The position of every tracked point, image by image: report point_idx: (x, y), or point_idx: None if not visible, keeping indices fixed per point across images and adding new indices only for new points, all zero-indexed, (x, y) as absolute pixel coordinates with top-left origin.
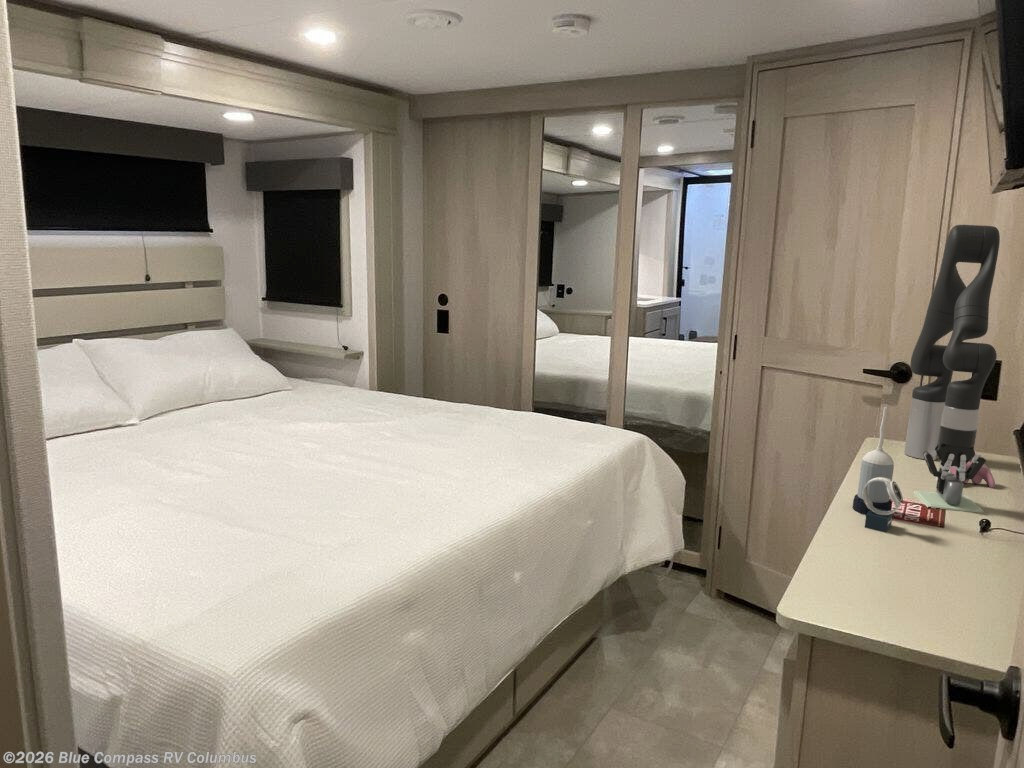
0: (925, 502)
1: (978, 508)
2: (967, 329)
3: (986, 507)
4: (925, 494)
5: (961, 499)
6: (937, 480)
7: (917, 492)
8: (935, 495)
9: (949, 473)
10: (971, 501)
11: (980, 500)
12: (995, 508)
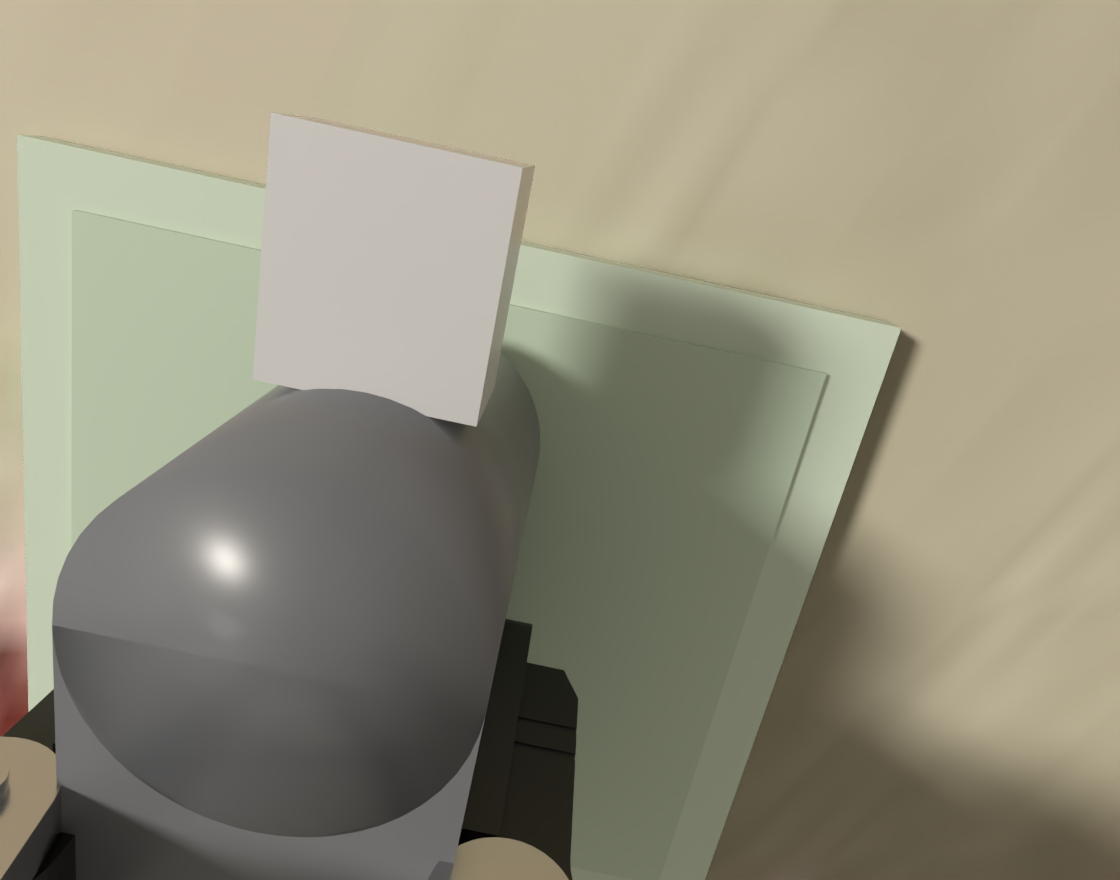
0: (35, 679)
1: (677, 855)
2: None
3: (886, 731)
4: (151, 360)
5: (653, 561)
6: (32, 715)
7: (55, 242)
8: None
9: (375, 630)
10: (774, 616)
11: (1040, 462)
12: (992, 761)
